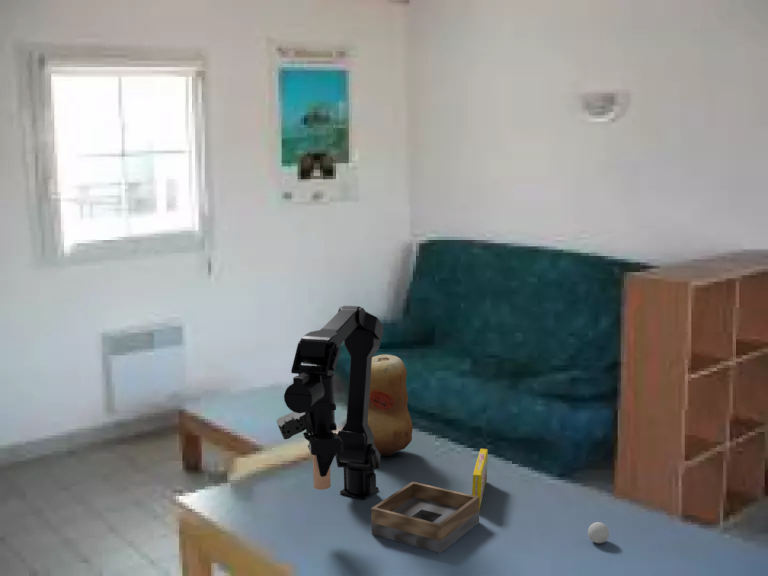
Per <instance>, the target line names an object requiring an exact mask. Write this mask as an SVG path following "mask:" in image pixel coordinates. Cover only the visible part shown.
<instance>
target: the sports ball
mask: <svg viewBox="0 0 768 576" xmlns="http://www.w3.org/2000/svg"><path fill="white" fill-rule="evenodd" d="M587 535H588V537H589V539H590V540H591V541H592V542H593V543H595V544H603V543H605V542H606V541H607V540H608V538H609V537H610V529H609V527H608V526H607V525H606V524H605V523H603V522H601V521H599V522H598V521H596V522H595V521H594V522H593V523H591V524H590V525H589V527H588V531H587Z"/></svg>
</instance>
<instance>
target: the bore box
mask: <svg viewBox="0 0 768 576" xmlns="http://www.w3.org/2000/svg"><path fill="white" fill-rule="evenodd" d="M370 516H371V517H370V524H371V535H374V536H377V537H381V538H385V539H389V540H392V541H396V542H399V543H402V544H403V543H404V544H407V545H410V546H413V547H418V548H420V549H421V548H422V549H424V550H428V551H432V552H436V553H439V554H442V553H443V552H445V550H447V549H448V548H450V546H452V545H453V544H454V543H455V542H457V541H458V540H459V539H460V538H462V537H463V536H464V535H465V534H466V533H468V532H469V531H471V529H473V528H474V527H475V526H476V525H478V524H479V523H480V510H479V497H477V496H473V495H472V494H468V493H464V492H459V491H455V490H451V489H446V488H442V487H438V486H433V485H428V484H426V483H420V482H416V481H411V482H410V483H408V484H406V485H405V486H404V487H402V488H400V489H399V490H397V491H395V492H394V493H393V494H390V495H389V496H388V497H386V498H385V499H383V500H381V501H380V502H378V503H377V504H376V505H374V506H372V507H370Z"/></svg>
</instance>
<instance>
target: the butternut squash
mask: <svg viewBox="0 0 768 576" xmlns="http://www.w3.org/2000/svg"><path fill="white" fill-rule="evenodd" d="M407 376H408V372H407V368H406V365H405V363H404V362H403V360H402V359H401V358H400V357H398V356H396V355H392V354H379V355H374V356H373V357H372V364H371V380H370V395H369V410H368V425H369V427H370V429H371V431H372V433H373V435H374V445H375V446H376V448H377V450H378V451H379V453H380V457H381V456H384V457H385V456H386V457H387V456H388V457H391V456H392V455H393V454H395V453H397V452H399V451H403V450H405V449H406V448H407V447H408V446H409V444H411V442H412V440H413V430H414V428H413V422H412V417H411V415H410V412H409V409H408V401H409V396H408V391H407Z"/></svg>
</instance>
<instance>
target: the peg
mask: <svg viewBox="0 0 768 576" xmlns="http://www.w3.org/2000/svg"><path fill="white" fill-rule="evenodd" d="M312 472H313V473H312V474H313V475H312V476H313V488H314V489H316V490H318V491H319V490H321V491H322V490H324V491H325V490H327V489H330V488H331V487H332V485H331V467H330V468H329V470H328V473H327V475H326V476H324V477H321V476H320V472H319V468H318V463H317V458H316V455H312Z"/></svg>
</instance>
